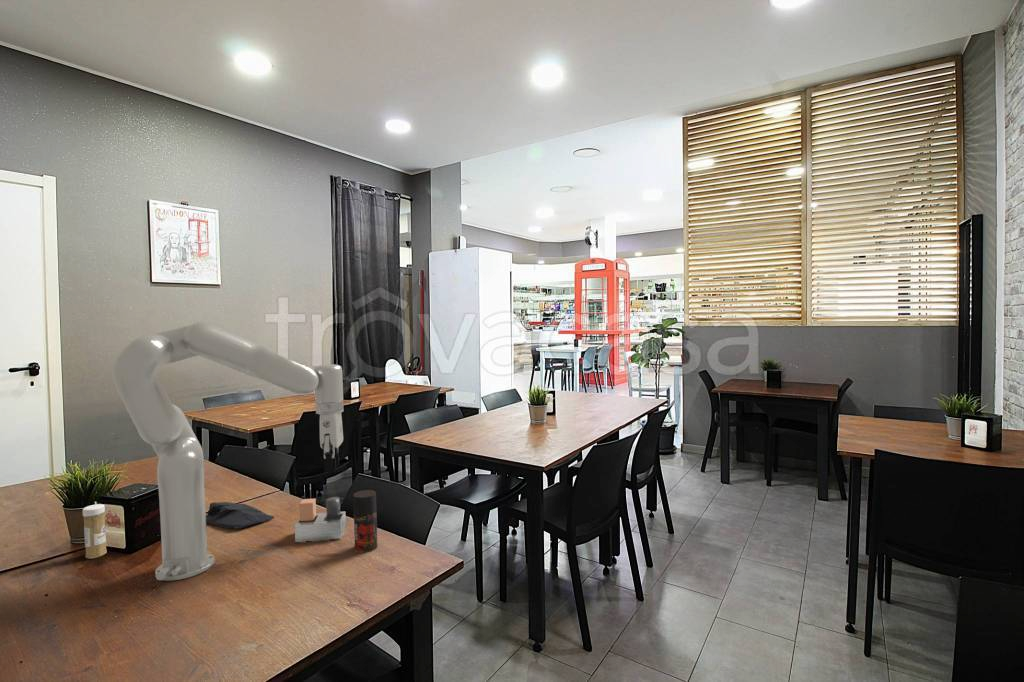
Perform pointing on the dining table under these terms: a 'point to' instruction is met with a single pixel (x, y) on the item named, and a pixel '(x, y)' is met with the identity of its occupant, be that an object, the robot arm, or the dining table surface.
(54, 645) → the dining table surface
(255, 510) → the dark slate chunk
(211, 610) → the dining table surface
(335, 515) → the knob round
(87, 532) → the sprinkles bottle
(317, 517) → the mount
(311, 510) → the button square
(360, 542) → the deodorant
